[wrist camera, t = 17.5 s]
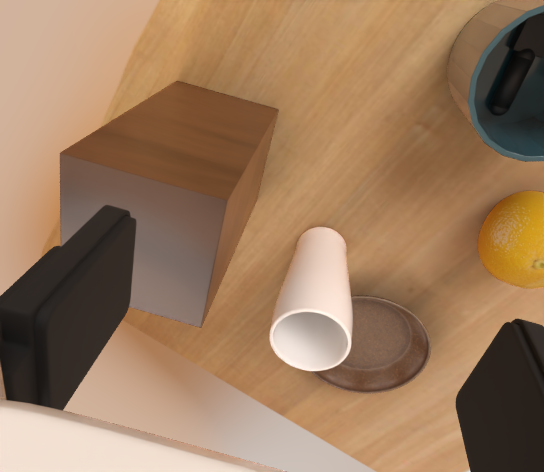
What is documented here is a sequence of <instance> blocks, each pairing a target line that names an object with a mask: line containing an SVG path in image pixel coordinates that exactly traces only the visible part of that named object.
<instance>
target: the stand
mask: <svg viewBox="0 0 544 472" xmlns="http://www.w3.org/2000/svg"><path fill="white" fill-rule="evenodd" d="M278 111H279V110H278V109H275V108H271V107H268V106H264V105H261V104H257V103H254V102H250V101H247V100H243V99H240V98H236V97H232V96H229V95H225V94H222V93H218V92H215V91H211V90H208V89H204V88H201V87H197V86H194V85H190V84H187V83H183V82H179V81H176V82H174V83H172V84H171V85H169V86H167V87H166V88H164V89H163V90H161V91H159V92H158V93H156V94H154V95H153V96H151V97H150V98H148V99H146V100H145V101H143V102H142V103H140V104H138V105H137V106H135V107H133V108H132V109H130V110H129V111H127V112H125V113H124V114H122V115H120V116H119V117H117V118H116V119H114V120H112V121H111V122H109V123H108V124H106V125H104V126H103V127H101V128H99V129H98V130H96V131H95V132H93V133H91V134H90V135H88V136H86V137H85V138H83V139H82V140H80V141H79V142H77V143H75V144H74V145H72V146H70V147H69V148H67V149H65V150H64V151H62V152H61V153H60V208H61V209H60V216H61V246H62V245H64V244H65V243H66V242H67V241H68V240H69V239H70V238H71V237H72V236H73V235H74V234H75V233H76V232H77V231H78V230H79V229H80V228H81V227H82V226H83V225H84V224H85V223H86V222H87V221H89V220H90V219H91V218H92V217H93V216H94V215H95V214H96V213H97V212H98V211H99V210H100V209H101V208H102V207H103V206H105V205H110V206H114V207H118V208H121V209H125V210H128V211H129V212H130V215H131V217H132V218H135V219H136V236H135V249H134V262H133V274H132V287H131V299H130V305H129V307H131V308H135V309H138V310H142V311H145V312H149V313H152V314H155V315H159V316H162V317H166V318H169V319H173V320H176V321H179V322H183V323H186V324H190V325H193V326H196V327H200V328H201V327H202V325H203V323H204V321H205V318H206V316H207V314H208V312H209V309H210V307H211V305H212V302H213V300H214V298H215V295H216V293H217V291H218V289H219V286H220V284H221V282H222V279H223V277H224V275H225V272H226V270H227V268H228V265H229V263H230V261H231V259H232V256H233V254H234V252H235V249H236V247H237V245H238V242H239V240H240V238H241V236H242V233H243V231H244V229H245V226H246V224H247V222H248V219H249V217H250V215H251V213H252V210H253V208H254V206H255V203H256V201H257V197H258V193H259V189H260V184H261V180H262V176H263V172H264V168H265V164H266V160H267V156H268V152H269V147H270V143H271V139H272V135H273V131H274V127H275V123H276V119H277V115H278Z"/></svg>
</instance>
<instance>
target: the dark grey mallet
mask: <svg viewBox="0 0 544 472" xmlns="http://www.w3.org/2000/svg"><path fill="white" fill-rule="evenodd" d="M509 48H510V49H512V50H515V52H514V54H513V56H512V58H511V60H510V62H509V64H508V67H507V69H506V71H505V73H504V75H503V77H502V79H501V81H500V83H499V85H498V87H497V89H496V91H495V93H494V95H493V98H492V100H491V102H490V104H489V110H490V112H491V113H492V114H493V115H496V116H501V115H504V114H505V113H507V111H508V110H509V108H510V106H511V104H512V102H513V101H514V99H515V97H516V95H517V93H518V91H519V89H520V87H521V85H522V83H523V81H524V79H525V77H526V75H527V73H528V71H529V69H530V67H531V65H532V63H533V61H534V59H535V56H537V57H540V58H542V57H543V55H544V15H542V14H537V15H534V16H532V17H529V18H527V19H526V20H525V21H523V22H522V23H520V24H519V27H518V29H517V31H516V33H515V35H514V37H513V39H512V41H511V43H510V45H509Z"/></svg>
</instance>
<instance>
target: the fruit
mask: <svg viewBox="0 0 544 472" xmlns="http://www.w3.org/2000/svg"><path fill="white" fill-rule="evenodd" d="M478 252H479V256H480V259H481V261H482V263H483V265H484V266H485V268H486V269H487V270H488V271H489V272H490V273H491V274H492V275H493V276H494V277H496V278H497V279H499V280H501V281H503V282H506V283H508V284H511V285H514V286H518V287H521V288H529V289H532V288H541V287H544V193H543V192H538V191H523V192H518V193H515V194H512V195H510V196H508V197H506V198H505V199H503V200H502V201H500V202H499V203H498V204H497V205H496V206H495V207H494V208H493V209H492V211H491V212H490V213H489V215H488V216H487V218H486V219H485V221H484V223H483V225H482V227H481V230H480V233H479V238H478Z"/></svg>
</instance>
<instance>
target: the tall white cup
mask: <svg viewBox="0 0 544 472" xmlns="http://www.w3.org/2000/svg"><path fill="white" fill-rule="evenodd" d="M352 331H353V308H352V298H351V291H350V283H349V275H348V266H347V248H346V243H345V241H344V239H343V238H342V236H341V235H340V234H339V233H338V232H336V231H335V230H333V229H330V228H327V227H314V228H311V229H309V230H307V231H305V232H304V233H303V234H302V235H301V236H300V238H299V240H298V242H297V245H296V250H295V253H294V256H293V258H292V261H291V264H290V266H289V269H288V271H287V274H286V277H285V279H284V282H283V284H282V287H281V289H280V292H279V295H278V298H277V301H276V304H275V308H274V312H273V317H272V322H271V328H270V335H269V338H270V343H271V346H272V348H273V350H274V352H275V353H276V355H277V356H278V357H279V358H280V359H281V360H283V361H284V362H285V363H287V364H289V365H291V366H293V367H295V368H298V369H301V370H306V371H322V370H327V369H330V368H333V367H335V366H337V365H339V364H340V363H341V362H343V361H344V360H345V358H346V357H347V356H348V354H349V352H350V349H351V344H352Z"/></svg>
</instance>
